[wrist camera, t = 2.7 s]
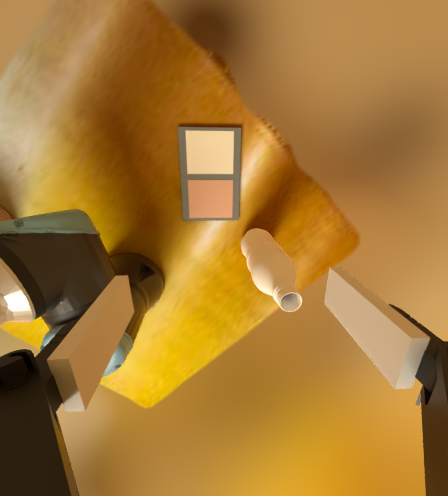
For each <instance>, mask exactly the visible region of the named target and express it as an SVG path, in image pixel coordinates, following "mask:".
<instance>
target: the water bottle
mask: <svg viewBox="0 0 448 496" xmlns="http://www.w3.org/2000/svg"><path fill="white" fill-rule="evenodd" d="M241 249H242V252H243V254H244V256H245V257H246V258H247V266H248V268H249V270H250V272H251V274H252V279H253V282H254V283H255V285H256V286H257V288H258V289H259V290H261V291H262V292H264V293H265V294H268V295H271V296H273V298H274V300H275V301H276V302H277V303H278V304H279V306H280V307H281V309H282V310H284V311H286V312H292V311H295V310H297V309H298V308H299V307H300V306H301V303H302V298H301V295H300V294H299V292H298V288H297V286H296V285H295V282H296V278H297V271H296V267H295V264H294V262H293V261H292V259H291V258H290V257H289V256H287V255H286V254H285V252H284V250H283V249H282V247H281V246H280V245H279V244H277V243H276V242H275V241H274V239H273V237H272V236H271V234H270V233H269V232H267V231H266V230H263V229H259V228H254V229H251V230H249V231H247V232H246V234H245V236H244V237H243V238H242V240H241Z"/></svg>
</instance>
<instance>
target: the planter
mask: <svg viewBox="0 0 448 496" xmlns="http://www.w3.org/2000/svg"><path fill="white" fill-rule="evenodd" d="M7 220H13V219H12V217H11V216H10V215H9V214H8V213H7V212H6V211H5V210H4V209H3V208H1V207H0V222H1V221H7Z"/></svg>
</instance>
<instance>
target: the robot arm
mask: <svg viewBox="0 0 448 496" xmlns="http://www.w3.org/2000/svg"><path fill="white" fill-rule="evenodd" d="M99 235H100V233H99V232H98V231H97V230H96V228H95V227H94V225H93V223H92V221H91V219H90V217H89V216H88V214H86V213H85V212H84V211H81V210H77V209H73V210H65V211H58V212H52V213H46V214H40V215H34V216H29V217H24V218H18V219H13V220H7V221H1V222H0V325H2V324H4V323H6V322H31V321H33V320H35V319H37V318H38V317H40V316H41V317H42V318H43V320H44V322H45V323H46V325H47V326H48V328H49V329H50V331H49V332H48V333H47V334H46V335H45V336H44V338H43V341H42V345H41V348H40V353H39V354H38V355H37V356H36V357H34V354H33V353H32V351H31V350H27V349H22V350H16V351H13V352H10V353H8V354H5V355H3V356H1V357H0V496H79V492H78V488H77V485H76V481H75V478H74V474H73V471H72V467H71V463H70V460H69V456H68V453H67V449H66V445H65V442H64V438H63V435H62V431H61V427H60V424H59V420H58V417H57V414H56V411H57V410H58V408H59V406H60V405H61V403H63V406H64V409H65V412H77V411H85V410H86V409H87V406H88V404H89V402H90V400H91V398H92V396H93V394H94V392H95V390H96V388H97V386H98V384H99V382H100V380H101V378H102V377H104V376H107V375H109V374H111V373H113V372H114V371H116V370H117V369H118V368H120V367H121V365H122V364H123V363H124V361H125V359H126V357H127V355H128V353H129V352H130V351H131V350H132V348H133V343H134V341H135V338H136V336H137V333H138V331H139V328H140V326H141V323H142V321H143V318H144V316H145V313H147V312H148V311H149V310H150V309H152V308H153V307H154V306H155V305H156V304H157V303H158V301H159V299H160V297H161V295H162V292H163V288H164V280H163V276H162V274H161V272H160V270H159V268H158V267H157V266H156V265H155V264H154V263H153V262H152V261H151V260H149V259H148V258H146V257H144V256H142V255H139V254H134V253H121V254H117V255H114V256H112V257H109V255H108V253H107V251H106V249H105V247H104V245H103V243H102V240H101V238H100V236H99ZM324 304H325V305H326V306H327V307H328V308H329V310H330V311H331V312H332V313H333V314H334V316H335V317H336V318H337V319H338V320H339V322H340V323H341V324H342V325H343V327H344V328H345V329H346V330H347V331H348V333H349V334H350V335H351V336H352V338H353V339H354V340H355V341H356V343H357V344H358V345H359V346H360V347H361V349H362V350H363V351H364V352H365V353H366V355H367V356H368V357H369V358H370V360H371V361H372V362H373V363H374V364H375V366H376V367H377V368H378V369H379V371H380V372H381V373H382V374H383V375H384V377H385V378H386V379H387V380H388V381H389V383H390V384H391V385H392V386H393V388H394V389H408V388H412V386H413V383H414V381H415V378H417V379H418V380H419V381H420V382H421V383H422V384H423V386H422V389H421V391H420V394H419V397H418V399H417V402H416V405H419V404H420V402H421V409H422V428H423V448H424V467H425V487H426V496H448V342H446V341H442V340H441V339H440V338H438V337H437V336H435V335H434V334H433V333H432V332H430V331H429V330H428V329H427V328H425V327H424V326H423V325H421V324H420V323H418V322H417V321H416V320H415V319H413V318H411V317H410V316H409V315H408V314H407V313H405V312H404V311H403V310H401V309H399V308H397V307H395V306H393V305H391V304H387V303H386V302H385V301H383V300H382V299H381V298H380V297H378V296H377V295H375V294H374V293H373V292H372V291H371V290H369V289H368V288H367V287H366V286H364V285H363V284H362V283H361V282H359V281H358V280H357V279H356V278H354V277H353V276H352V275H350V274H349V273H348V272H347V271H345V270H344V269H343V268H342V267H330V269H329V275H328V282H327V288H326V294H325V301H324Z"/></svg>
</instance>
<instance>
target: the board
mask: <svg viewBox="0 0 448 496" xmlns="http://www.w3.org/2000/svg"><path fill="white" fill-rule="evenodd" d="M178 139H179V157H180V175H181V193H182V211H183V221H207V220H239V190H240V156H241V128H219V127H178Z"/></svg>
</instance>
